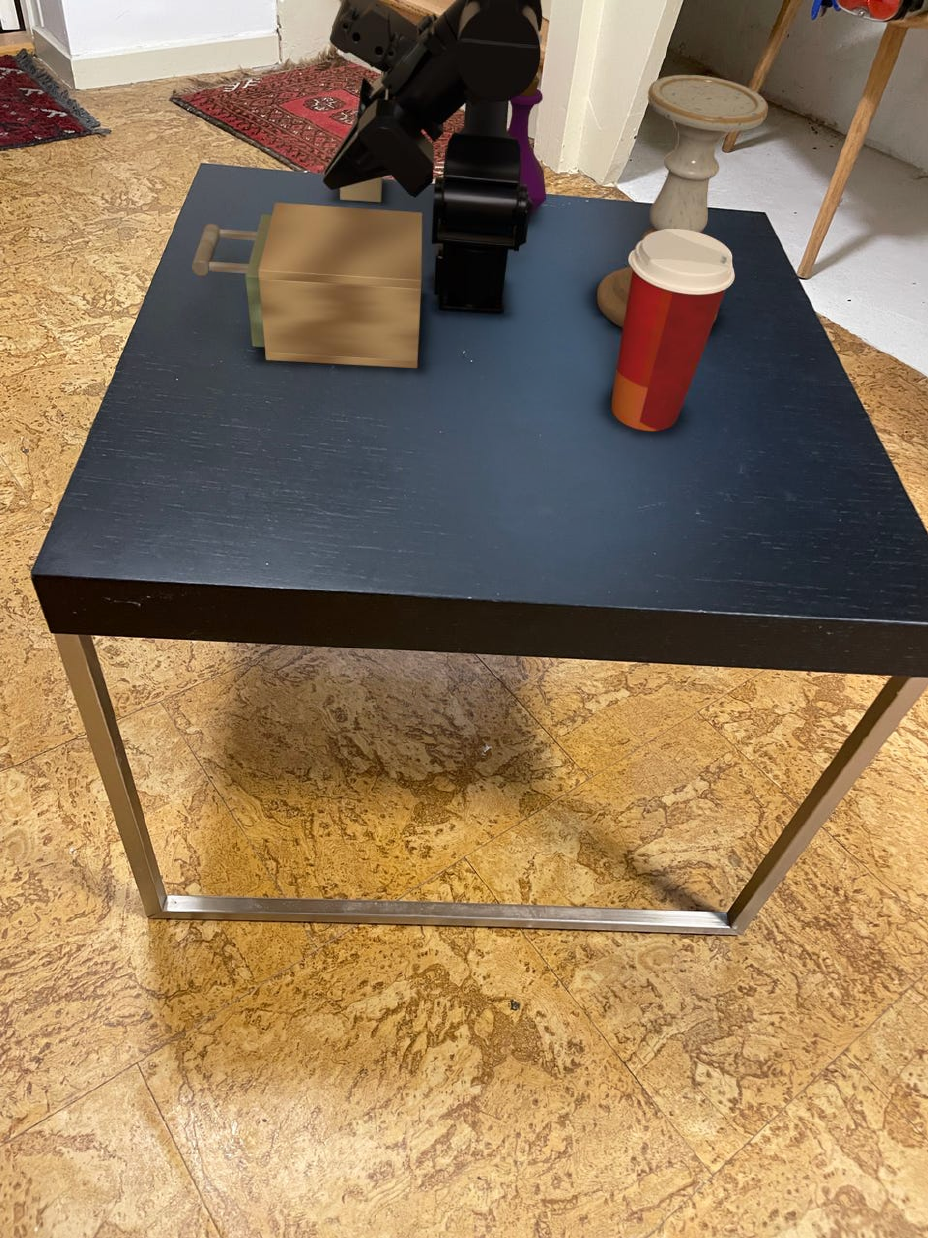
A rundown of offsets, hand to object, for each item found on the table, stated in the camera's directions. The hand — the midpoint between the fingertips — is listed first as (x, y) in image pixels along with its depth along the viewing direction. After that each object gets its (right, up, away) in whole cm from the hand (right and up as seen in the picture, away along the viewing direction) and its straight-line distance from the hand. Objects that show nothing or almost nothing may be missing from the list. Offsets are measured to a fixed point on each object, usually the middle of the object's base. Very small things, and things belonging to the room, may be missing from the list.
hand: (327, 181), depth 80 cm
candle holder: (+31, -5, +17) cm, 36 cm away
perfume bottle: (+17, +10, +30) cm, 35 cm away
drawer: (-4, -8, +9) cm, 13 cm away
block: (0, +12, +30) cm, 32 cm away
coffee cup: (+28, -18, +5) cm, 33 cm away
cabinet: (0, -9, +10) cm, 14 cm away
